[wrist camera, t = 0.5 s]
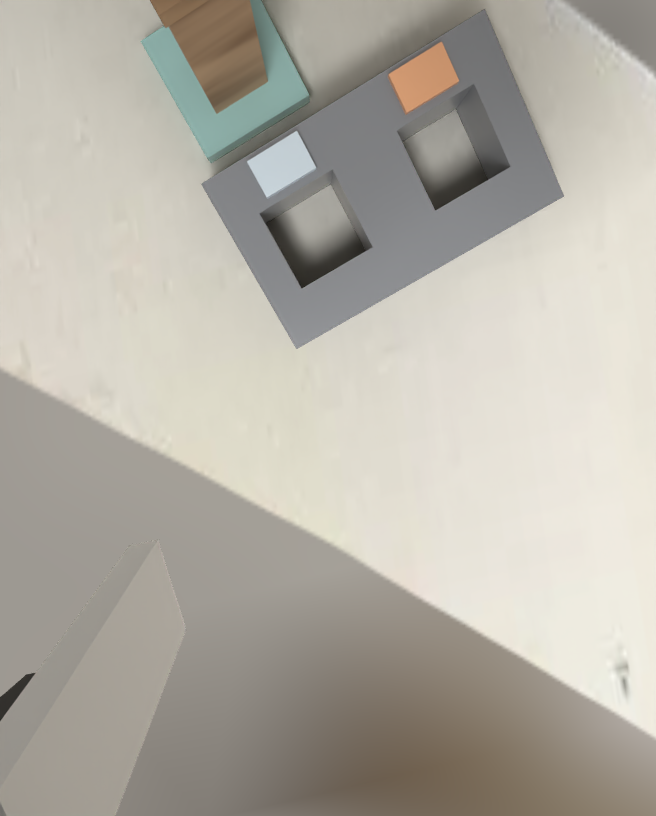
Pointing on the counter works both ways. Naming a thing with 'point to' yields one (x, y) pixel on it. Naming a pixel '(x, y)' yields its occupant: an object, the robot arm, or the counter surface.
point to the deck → (246, 113)
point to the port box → (389, 178)
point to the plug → (217, 45)
